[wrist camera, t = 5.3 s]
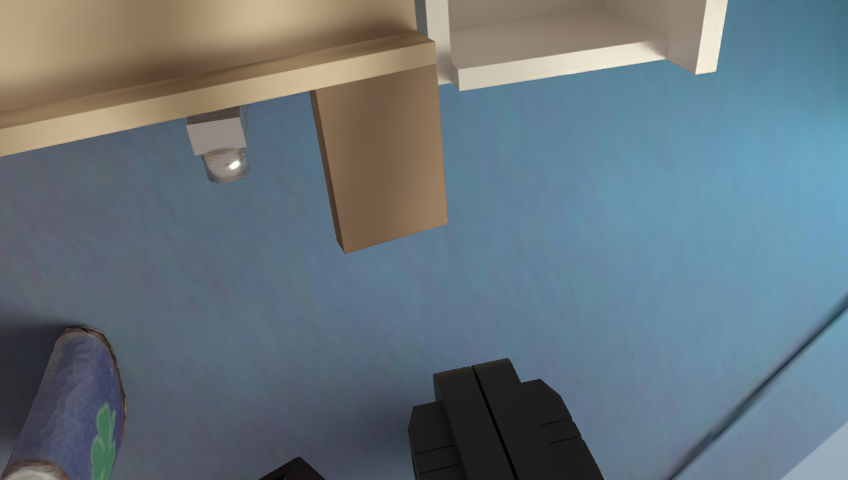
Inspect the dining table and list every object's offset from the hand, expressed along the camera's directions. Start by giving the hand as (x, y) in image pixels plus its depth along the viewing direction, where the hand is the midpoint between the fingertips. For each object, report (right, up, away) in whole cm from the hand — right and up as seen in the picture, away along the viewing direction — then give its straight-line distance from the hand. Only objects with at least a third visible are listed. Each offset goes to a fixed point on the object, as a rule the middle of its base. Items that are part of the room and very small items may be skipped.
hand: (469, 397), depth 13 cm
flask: (-19, -5, +22) cm, 29 cm away
